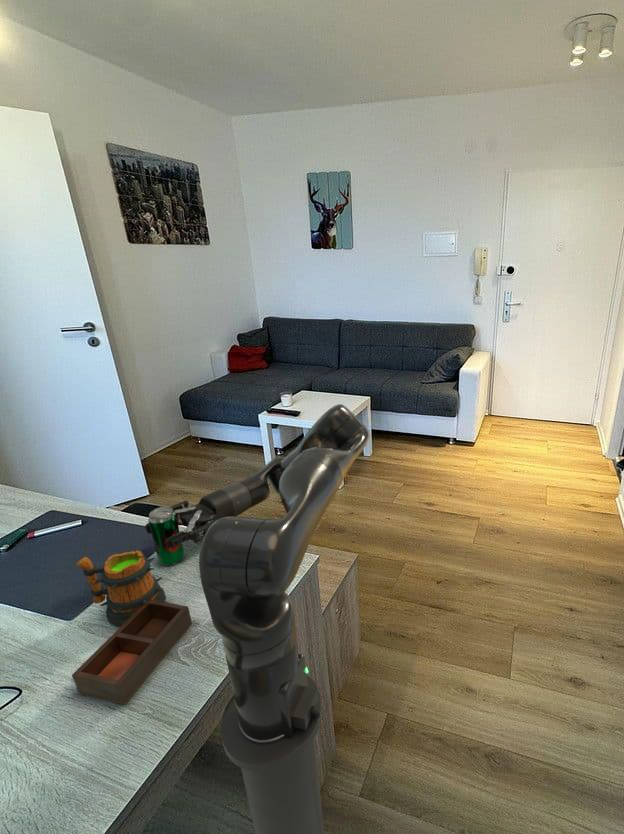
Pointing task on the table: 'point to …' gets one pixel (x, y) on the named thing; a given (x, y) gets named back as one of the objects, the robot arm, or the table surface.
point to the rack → (132, 652)
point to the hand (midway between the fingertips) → (156, 536)
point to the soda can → (165, 535)
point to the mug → (123, 584)
